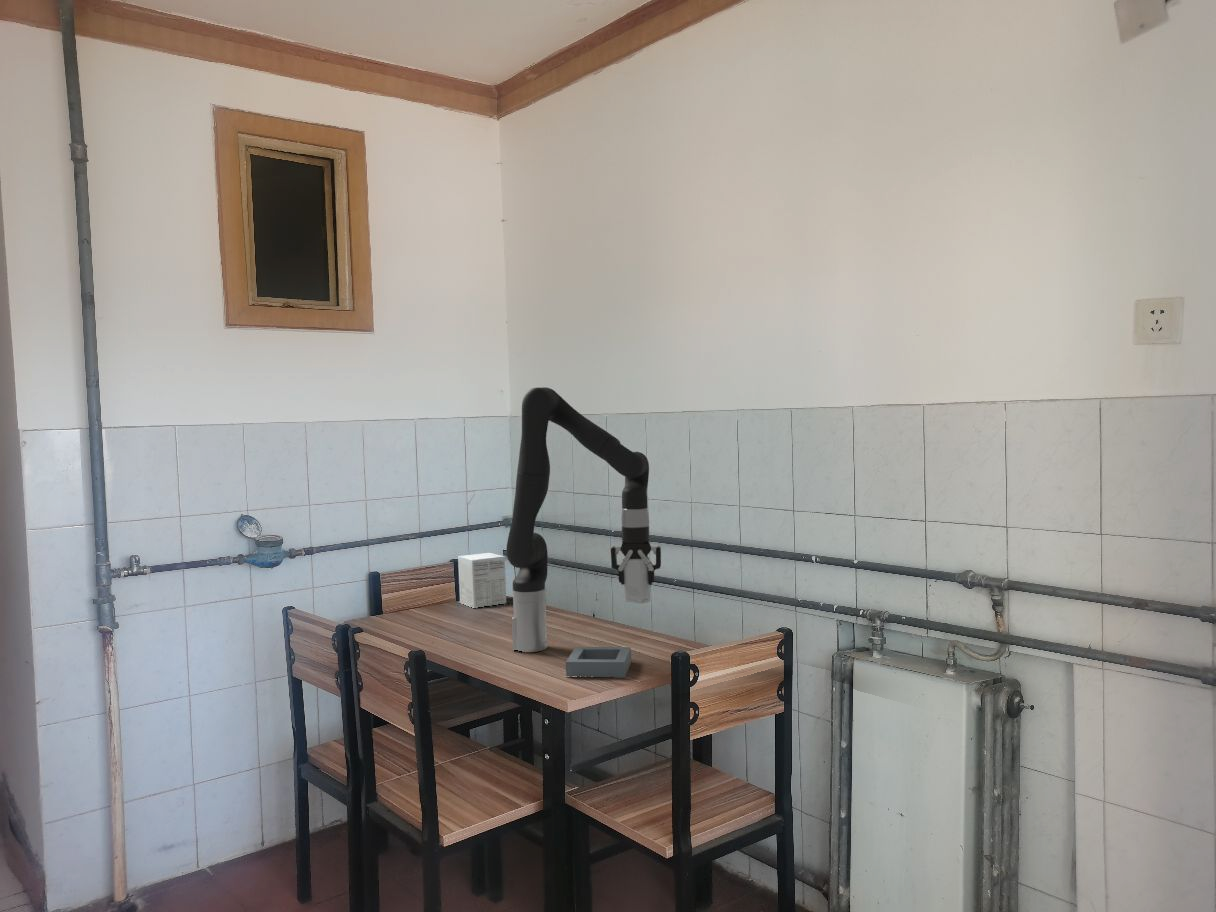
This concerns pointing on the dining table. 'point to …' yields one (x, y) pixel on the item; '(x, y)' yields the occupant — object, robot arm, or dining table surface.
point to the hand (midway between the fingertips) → (636, 584)
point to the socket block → (599, 662)
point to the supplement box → (482, 579)
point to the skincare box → (636, 581)
